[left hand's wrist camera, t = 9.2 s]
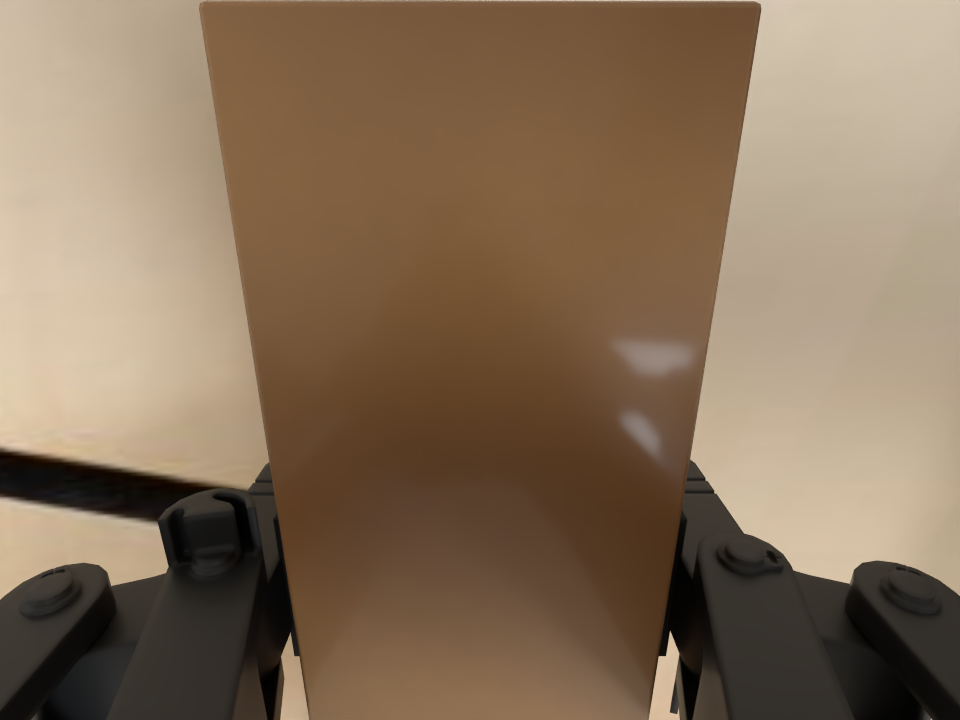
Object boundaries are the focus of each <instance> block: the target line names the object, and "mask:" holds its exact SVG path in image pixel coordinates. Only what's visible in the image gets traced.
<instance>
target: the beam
mask: <svg viewBox="0 0 960 720" xmlns="http://www.w3.org/2000/svg"><path fill="white" fill-rule="evenodd" d="M199 10H200V16H201V23H202V29H203V36H204V42H205V49H206V55H207V62H208V68H209V75H210V81H211V87H212V94H213V100H214V107H215V113H216V120H217V126H218V133H219V139H220V146H221V152H222V158H223V165H224V171H225V178H226V184H227V191H228V197H229V204H230V210H231V217H232V223H233V229H234V236H235V242H236V249H237V255H238V262H239V268H240V275H241V281H242V288H243V294H244V300H245V307H246V313H247V320H248V326H249V333H250V339H251V346H252V352H253V359H254V365H255V371H256V378H257V384H258V391H259V397H260V404H261V410H262V417H263V423H264V430H265V436H266V442H267V449H268V455H269V462H270V468H271V475H272V481H273V488H274V494H275V501H276V507H277V513H278V520H279V526H280V533H281V539H282V546H283V552H284V559H285V565H286V572H287V578H288V585H289V591H290V597H291V604H292V610H293V617H294V623H295V630H296V636H297V643H298V649H299V656H300V662H301V668H302V675H303V681H304V688H305V694H306V701H307V707H308V714H309V720H649V713H650V707H651V701H652V695H653V688H654V682H655V676H656V669H657V663H658V657H659V650H660V644H661V638H662V631H663V625H664V619H665V613H666V606H667V600H668V594H669V587H670V581H671V575H672V568H673V562H674V556H675V550H676V543H677V537H678V531H679V524H680V518H681V512H682V505H683V499H684V493H685V487H686V480H687V474H688V468H689V461H690V455H691V449H692V442H693V436H694V430H695V424H696V417H697V411H698V405H699V398H700V392H701V386H702V379H703V373H704V367H705V360H706V354H707V348H708V342H709V335H710V329H711V323H712V316H713V310H714V304H715V297H716V291H717V285H718V279H719V272H720V266H721V260H722V253H723V247H724V241H725V234H726V228H727V222H728V216H729V209H730V203H731V197H732V190H733V184H734V178H735V171H736V165H737V159H738V152H739V146H740V140H741V134H742V127H743V121H744V115H745V108H746V102H747V96H748V89H749V83H750V77H751V71H752V64H753V58H754V52H755V45H756V39H757V33H758V26H759V20H760V14H761V4H759V3H757V2H755V1H205V2H203V3H200V8H199Z"/></svg>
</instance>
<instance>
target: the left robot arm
mask: <svg viewBox="0 0 960 720" xmlns="http://www.w3.org/2000/svg"><path fill="white" fill-rule="evenodd" d="M157 521H158V525H159V529H160V533H161V537H162V541H163V545H164V549H165V553H166V557H167V561H168V565H169V567H168V570H167V572H166V573H165V574H162V575H158V576H155V577H151V578H147V579H142V580H137V581H133V582H128V583H124V584H119V585H114V586H111V584H110V580H109V577H108V574H107V572H106V571H105V570H104V569H103V568H102V567H100V566H99V565H94V564H88V563H79V564H71V565H64V566H61V567H57V568H55V569H51V570H48V571H45V572H43V573H41V574H39V575H37V576H35V577H33V578H31V579H29V580H27V581H25V582H23V583H21V584H20V585H19V586H17V587H16V588H15V589H13V590H12V591H11V592H9V593H8V594H7V595H5V596H4V597H3V598H2V599H1V600H0V720H280V716H281V706H282V696H283V686H284V673H283V666H282V660H281V655H282V652H283V650H284V647H285V645H286V642H287V640H288V637H289V635H290V632H291V637H292V643H293V649H294V656H299V649H298V643H297V636H296V630H295V623H294V617H293V610H292V604H291V597H290V591H289V585H288V578H287V572H286V565H285V559H284V552H283V546H282V539H281V533H280V526H279V520H278V513H277V507H276V501H275V494H274V488H273V481H272V475H271V468H270V462H269V463H268V464H266V465H265V467H264V468H263V470H262V471H261V473H260V474H259V475H258V477H257V478H256V480H255V483H253V484H252V486H251V487H250V488H249V490H248V491H247V492H246V491H242V490H238V489H234V488H221V489H212V490H208V491H203V492H198V493H196V494H193V495H191V496H189V497H186V498H184V499H181V500H180V501H178V502H177V503H175V504H174V505H172V506H171V507H169V508H168V509H166V510H165V512H164V513H163V514H162V515H161V516H160V518H159V519H158V520H157ZM670 631H671V633H672V636H673V638H674V641H675V643H676V646H677V648H678V651H679V653H680V654H679V660H678V666H677V672H676V678H675V684H674V690H673V696H672V702H671V708H670V713H675V714H677V712H678V707H679V714H680V720H931V719H932V720H960V596H959V595H958V594H957V593H955V592H954V591H953V590H951V589H950V588H949V587H947V586H946V585H945V584H943V583H942V582H941V581H939V580H937V579H935V578H933V577H931V576H929V575H927V574H925V573H923V572H921V571H920V570H917V569H915V568H912V567H908V566H906V565H902V564H898V563H893V562H884V561H872V562H865V563H862V564H861V565H859V566H858V567H857V568H856V569H855V570H854V572H853V575H852V579H851V582H850V584H848V583H843V582H838V581H834V580H829V579H825V578H820V577H815V576H811V575H807V574H803V573H800V572H796V571H793V569H792V566H791V565H790V563H789V562H788V561H787V559H786V558H785V556H784V555H783V554H782V553H781V552H780V551H778V550H777V549H776V548H774V547H773V546H772V545H770V544H769V543H767V542H765V541H763V540H760V539H758V538H756V537H754V536H751V535H747V534H744V533H743V532H742V530H741V529H740V527H739V526H738V524H737V523H736V521H735V520H734V519H733V517H732V516H731V514H730V513H729V511H728V510H727V508H726V507H725V506H724V504H723V503H722V501H721V500H720V498H719V497H718V496H717V494H714V490H713V488H712V487H711V485H710V484H709V483H708V481H706V480H705V477H704V475H703V474H702V472H701V471H700V470H699V468H698V467H697V465H696V464H695V463H694V462H693V461H691V460H690V461H689V468H688V474H687V480H686V487H685V493H684V499H683V505H682V512H681V518H680V524H679V531H678V537H677V543H676V550H675V556H674V562H673V568H672V575H671V581H670V587H669V594H668V600H667V606H666V613H665V619H664V625H663V631H662V638H661V644H660V650H659V656H666V652H667V646H668V639H669V633H670Z"/></svg>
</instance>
